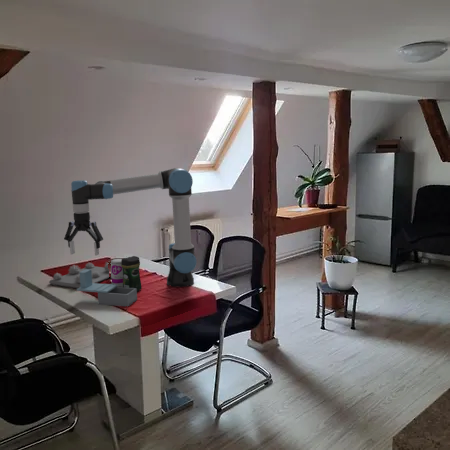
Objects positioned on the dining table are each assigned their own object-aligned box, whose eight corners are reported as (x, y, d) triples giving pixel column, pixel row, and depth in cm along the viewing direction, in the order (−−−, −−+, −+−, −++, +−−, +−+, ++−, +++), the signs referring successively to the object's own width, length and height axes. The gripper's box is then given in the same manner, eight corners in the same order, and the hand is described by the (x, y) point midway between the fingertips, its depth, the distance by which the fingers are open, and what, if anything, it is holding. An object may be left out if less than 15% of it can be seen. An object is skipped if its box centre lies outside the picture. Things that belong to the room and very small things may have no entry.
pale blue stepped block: (117, 286, 229) (116, 269, 227) (107, 292, 219) (106, 275, 217) (88, 284, 233) (87, 267, 232) (76, 290, 223) (75, 273, 221)
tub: (137, 299, 227) (136, 288, 226) (128, 306, 218) (127, 294, 217) (108, 297, 231) (107, 286, 230) (98, 304, 222) (97, 292, 221)
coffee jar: (134, 287, 248) (132, 254, 245) (143, 289, 243) (142, 256, 240) (120, 291, 241) (118, 257, 237) (129, 294, 236) (127, 260, 232)
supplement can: (123, 289, 244) (121, 262, 242) (109, 288, 246) (107, 261, 243) (129, 284, 252) (128, 258, 250) (115, 284, 254) (114, 258, 251)
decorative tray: (90, 269, 285) (89, 254, 283) (123, 274, 274) (122, 258, 272) (47, 285, 254) (46, 268, 252) (83, 291, 243) (81, 273, 241)
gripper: (108, 211, 221) (111, 253, 225) (63, 210, 227) (67, 251, 231) (100, 213, 214) (103, 257, 218) (54, 212, 220) (58, 255, 224)
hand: (84, 254), depth 224 cm, fingers open, 13 cm apart
